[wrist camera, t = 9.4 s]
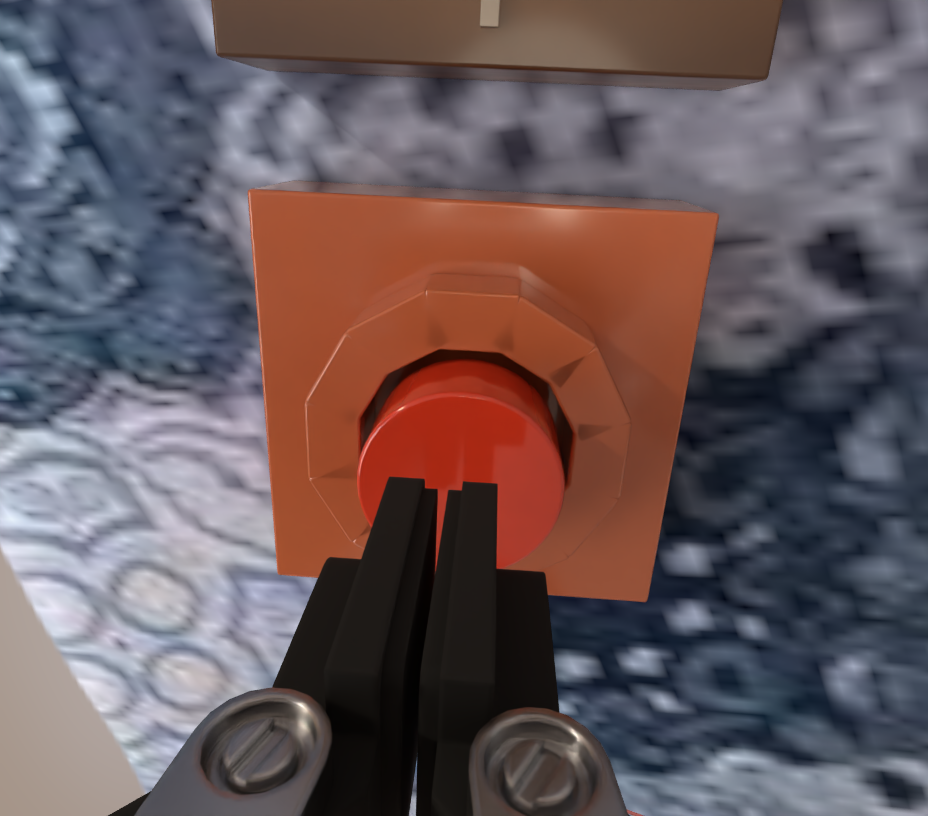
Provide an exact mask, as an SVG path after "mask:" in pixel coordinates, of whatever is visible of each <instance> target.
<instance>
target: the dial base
mask: <svg viewBox="0 0 928 816" xmlns="http://www.w3.org/2000/svg"><path fill="white" fill-rule="evenodd" d="M211 2H212V13H213V24H214V35H215V46H216V53H217V55H218V56H220V57H222V58H226V59H229V60H232V61H236V62H239V63H243V64H246V65H250V66H253V67H257V68H260V69H264V70H267V71H287V72H309V73H332V74H354V75H377V76H400V77H422V78H445V79H467V80H490V81H513V82H535V83H558V84H581V85H603V86H626V87H648V88H671V89H694V90H716V91H720V90H724V89H729V88H733V87H737V86H742V85H746V84H750V83H755V82H759V81H763V80H766V79H767V77H768V75H769V70H770V65H771V60H772V55H773V50H774V45H775V40H776V35H777V29H778V24H779V19H780V14H781V9H782V4H783V0H211Z"/></svg>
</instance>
